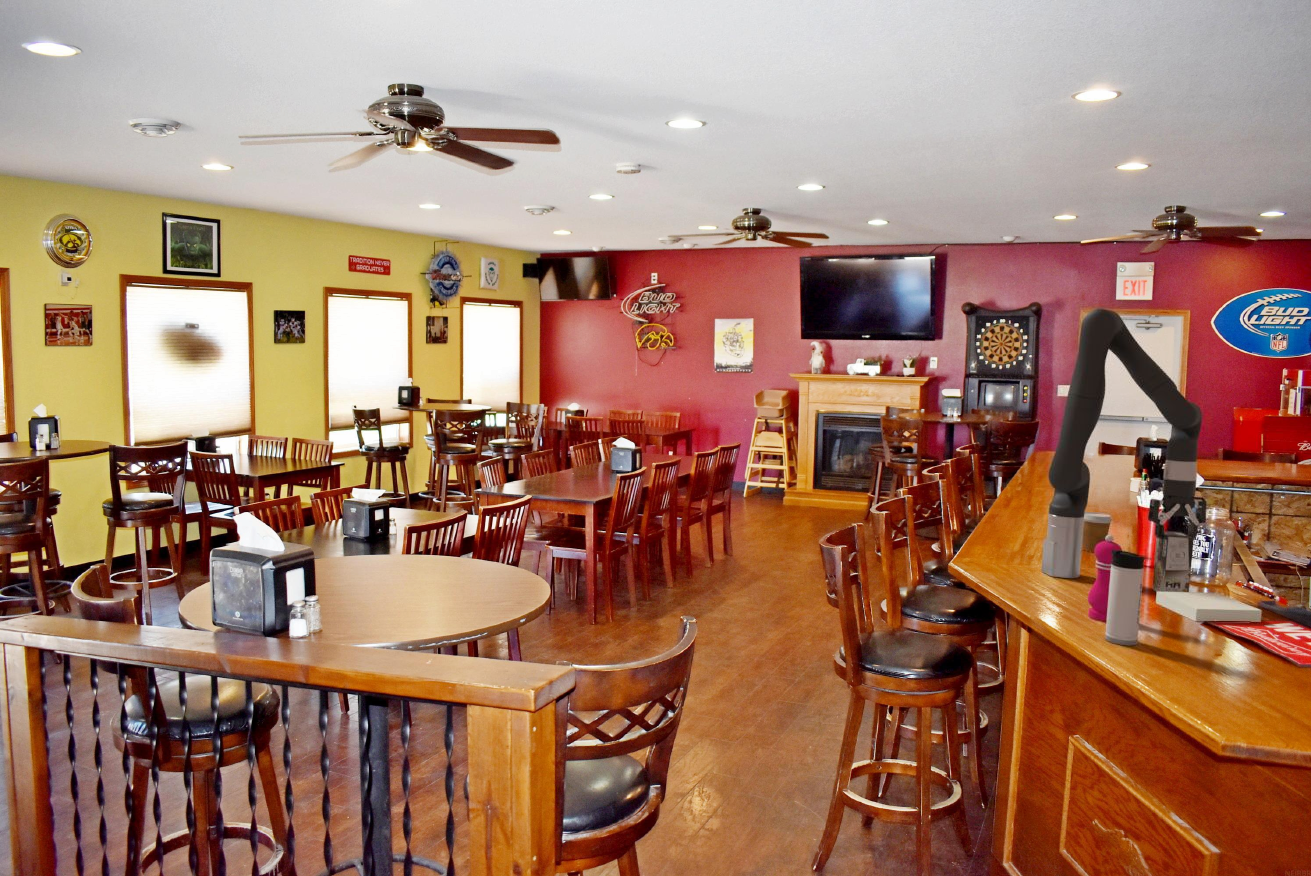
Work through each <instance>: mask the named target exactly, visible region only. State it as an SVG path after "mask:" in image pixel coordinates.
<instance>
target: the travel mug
mask: <svg viewBox="0 0 1311 876" xmlns="http://www.w3.org/2000/svg"><path fill="white" fill-rule="evenodd" d="M1111 553H1112V564H1111V573H1110V585H1109V597H1108V609H1107V622H1106V624H1105V635H1104V637H1105V640H1106V641H1107V642H1109V643H1111V644H1115V645H1120V646H1128V647H1130V646H1135V645H1137V644H1138V641H1139V640H1138V639H1139V637H1138V636H1139V627H1140V618H1141V617H1140V616H1141V607H1142V606H1141V604H1142V593H1143V592H1142V591H1143V582H1144V570H1145V567H1144V564H1145V556H1144V555H1142V556H1141V555H1139V554H1138V553H1135V552H1130V551H1125V550H1122V551H1120V550H1112V551H1111Z"/></svg>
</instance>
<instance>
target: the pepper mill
mask: <svg viewBox="0 0 1311 876" xmlns="http://www.w3.org/2000/svg"><path fill="white" fill-rule="evenodd" d="M1114 539H1115V538H1114V536H1113V535H1111V534H1108V535H1107V536H1106V538H1105V540H1106V541H1103V542H1100V543H1098V544H1097V545H1096V547H1095V550H1094V556H1095V558H1096V561H1095V566H1094V567H1096V569H1097V573H1096V579H1095V581H1094V584H1093V585H1092V587H1091V588H1090V589H1089V593H1088V595H1087V602H1088V603H1089V605H1090V606H1091V608H1089V609H1088V617H1089V618H1090V619H1092V620H1095V621H1098V622H1099V621H1100V622H1107V609H1108V597H1109V585H1110V573H1111V564H1112V553H1111V551H1112V550H1120V551H1123V548H1122V547H1121V545H1119V544H1118V543H1117V542H1115V541H1114Z"/></svg>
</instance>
